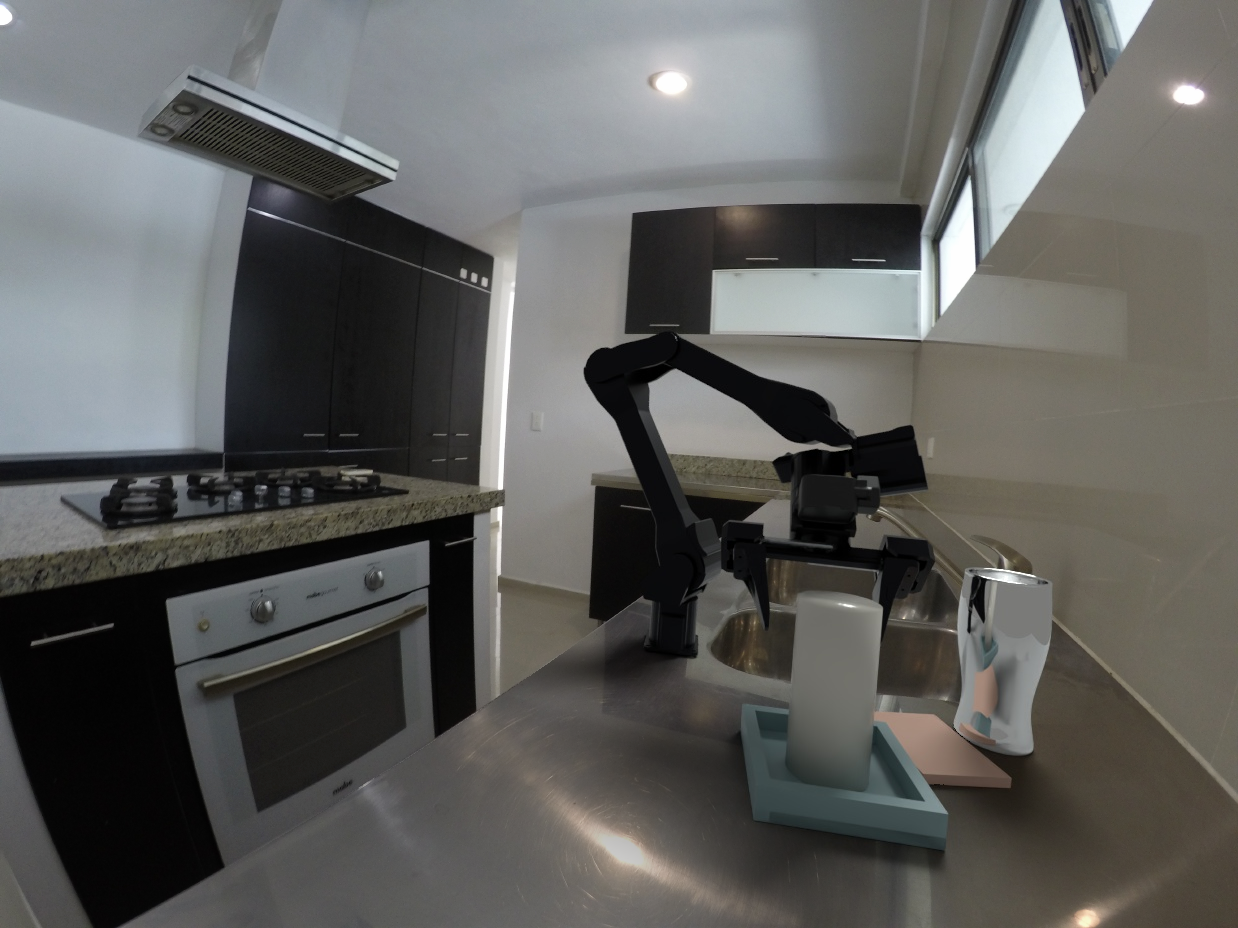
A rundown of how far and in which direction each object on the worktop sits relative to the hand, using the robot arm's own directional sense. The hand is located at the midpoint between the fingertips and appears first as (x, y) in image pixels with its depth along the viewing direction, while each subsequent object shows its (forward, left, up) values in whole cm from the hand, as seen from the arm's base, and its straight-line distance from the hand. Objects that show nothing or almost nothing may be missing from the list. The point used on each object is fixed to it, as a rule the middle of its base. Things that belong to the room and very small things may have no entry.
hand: (821, 636), depth 48 cm
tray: (+6, 0, -9) cm, 11 cm away
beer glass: (-5, +17, -9) cm, 20 cm away
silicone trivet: (-1, +10, -9) cm, 13 cm away
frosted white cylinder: (+6, 0, -8) cm, 10 cm away
